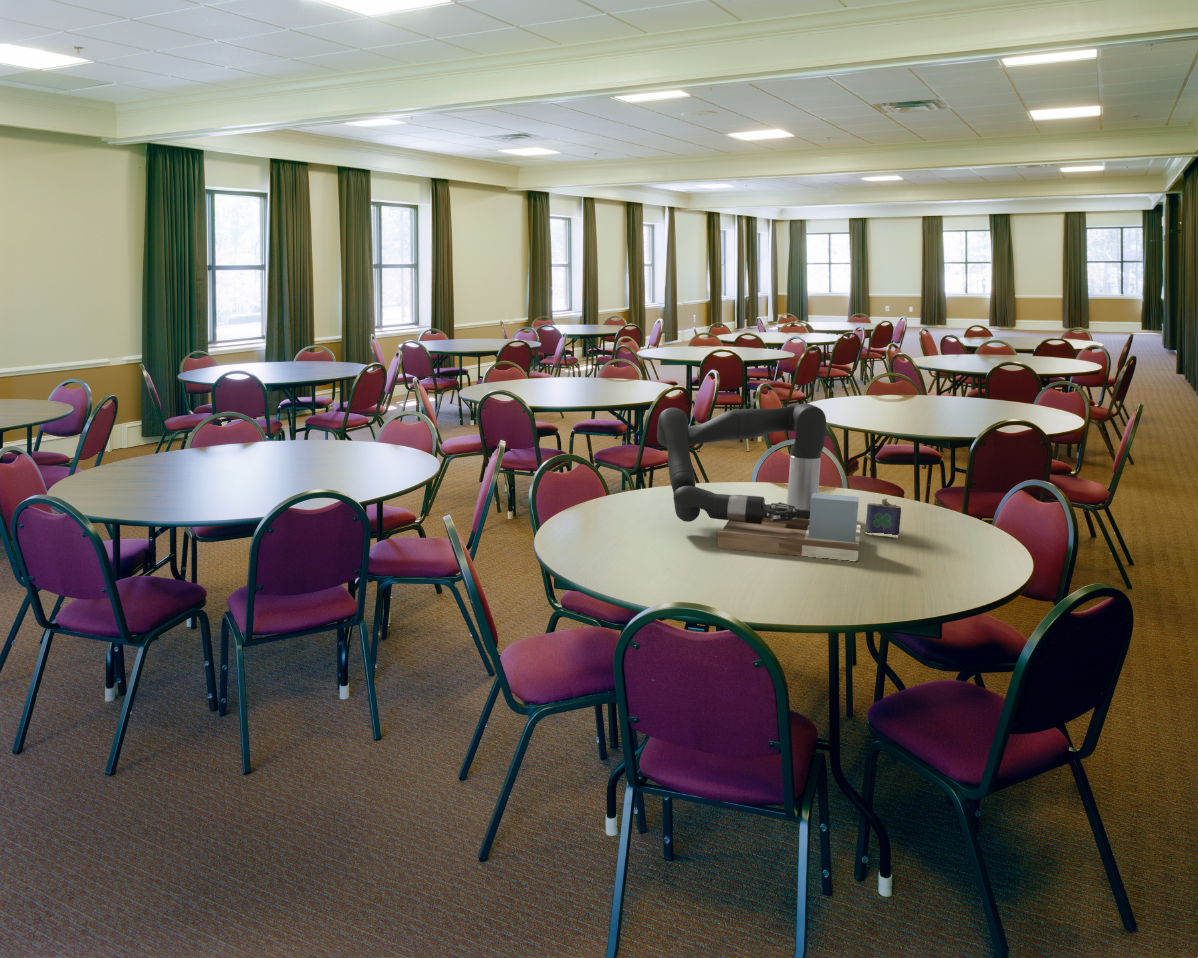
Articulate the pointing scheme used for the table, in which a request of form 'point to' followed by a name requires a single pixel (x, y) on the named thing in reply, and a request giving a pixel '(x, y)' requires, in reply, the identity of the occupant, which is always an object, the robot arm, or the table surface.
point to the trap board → (785, 539)
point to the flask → (883, 518)
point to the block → (833, 517)
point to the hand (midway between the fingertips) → (810, 514)
